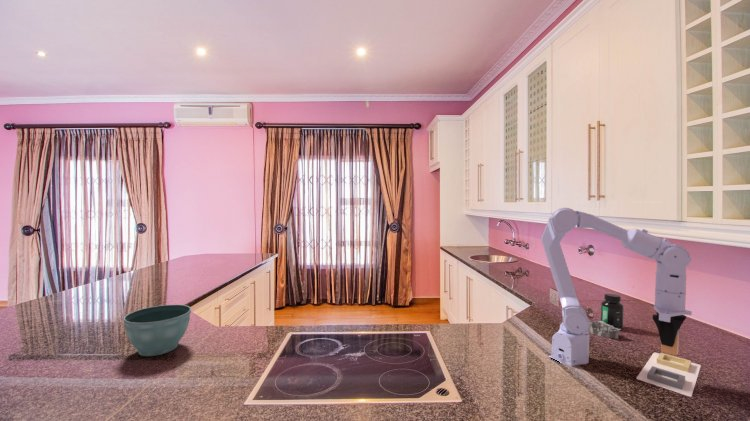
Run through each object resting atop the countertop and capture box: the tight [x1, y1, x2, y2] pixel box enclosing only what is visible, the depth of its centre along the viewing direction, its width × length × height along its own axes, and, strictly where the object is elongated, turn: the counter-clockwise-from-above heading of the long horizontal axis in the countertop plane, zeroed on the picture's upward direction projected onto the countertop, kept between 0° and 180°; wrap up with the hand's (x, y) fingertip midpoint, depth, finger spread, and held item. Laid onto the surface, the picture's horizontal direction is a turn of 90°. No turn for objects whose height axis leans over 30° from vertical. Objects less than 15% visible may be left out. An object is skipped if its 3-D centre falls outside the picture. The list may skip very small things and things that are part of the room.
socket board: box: [636, 352, 702, 398], centre depth 85 cm, size 24×10×2 cm, turn 131°
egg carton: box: [588, 320, 622, 340], centre depth 113 cm, size 11×8×4 cm
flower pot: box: [123, 304, 192, 357], centre depth 93 cm, size 16×16×11 cm
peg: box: [660, 329, 680, 357], centre depth 81 cm, size 3×3×6 cm
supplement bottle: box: [600, 293, 625, 331], centre depth 119 cm, size 7×7×12 cm
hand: (668, 343), depth 82 cm, fingers closed on peg, 3 cm apart
